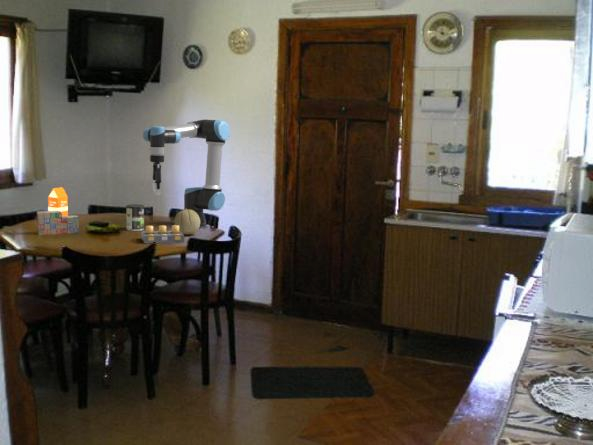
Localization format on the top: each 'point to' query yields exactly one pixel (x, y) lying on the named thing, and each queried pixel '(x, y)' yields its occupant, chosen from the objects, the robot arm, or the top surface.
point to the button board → (162, 237)
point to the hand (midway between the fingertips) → (156, 193)
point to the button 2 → (175, 229)
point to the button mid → (162, 229)
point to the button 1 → (149, 229)
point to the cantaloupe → (187, 221)
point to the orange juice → (58, 201)
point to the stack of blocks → (56, 223)
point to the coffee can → (135, 217)
